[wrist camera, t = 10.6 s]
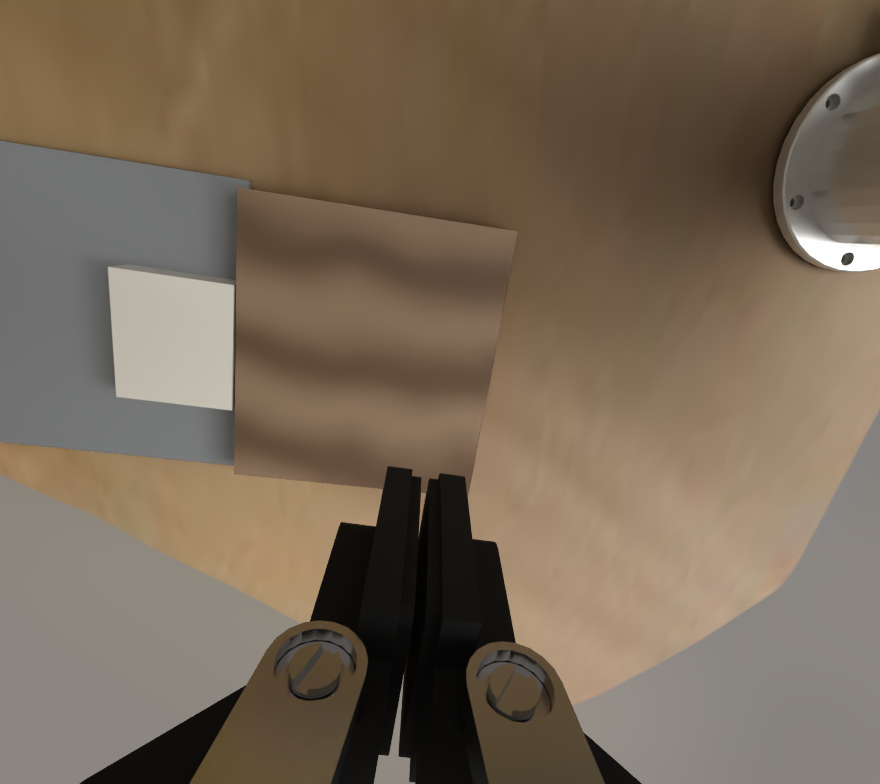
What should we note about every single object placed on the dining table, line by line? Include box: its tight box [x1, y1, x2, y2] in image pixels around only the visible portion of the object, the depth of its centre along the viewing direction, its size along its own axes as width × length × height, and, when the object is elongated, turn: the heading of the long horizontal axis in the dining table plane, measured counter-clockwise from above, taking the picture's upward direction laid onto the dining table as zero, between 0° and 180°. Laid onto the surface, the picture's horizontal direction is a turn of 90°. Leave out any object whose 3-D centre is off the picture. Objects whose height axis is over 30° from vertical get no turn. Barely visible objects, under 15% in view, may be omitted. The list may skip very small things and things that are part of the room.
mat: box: [0, 141, 252, 465], centre depth 31 cm, size 19×18×1 cm
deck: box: [234, 187, 518, 497], centre depth 31 cm, size 18×16×2 cm
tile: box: [108, 264, 236, 411], centre depth 30 cm, size 8×7×2 cm
